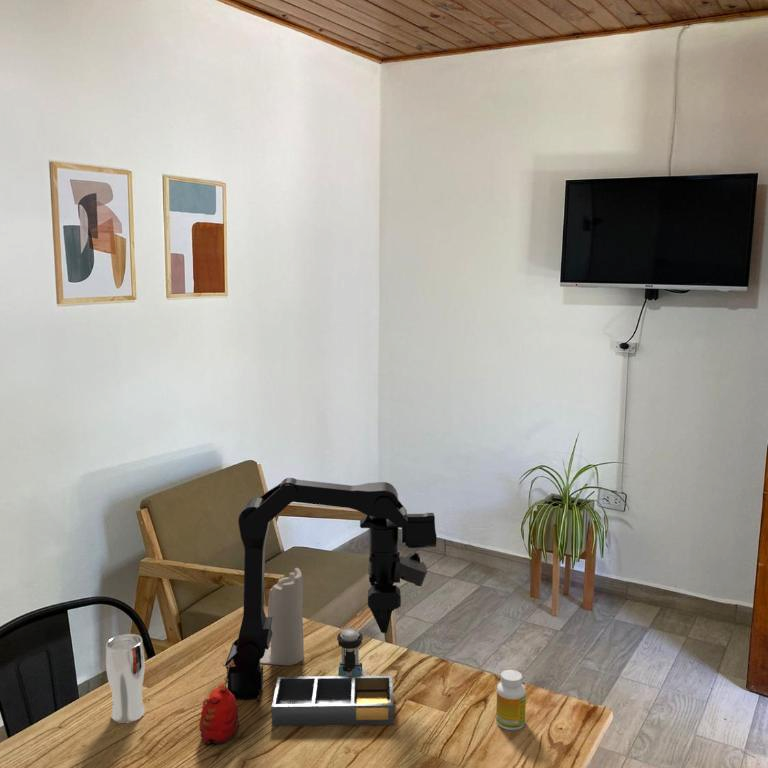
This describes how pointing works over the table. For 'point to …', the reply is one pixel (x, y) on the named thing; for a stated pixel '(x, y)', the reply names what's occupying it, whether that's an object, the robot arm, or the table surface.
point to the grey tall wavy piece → (286, 621)
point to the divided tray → (333, 701)
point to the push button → (350, 653)
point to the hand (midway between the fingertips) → (383, 621)
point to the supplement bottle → (511, 701)
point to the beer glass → (126, 676)
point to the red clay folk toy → (219, 715)
